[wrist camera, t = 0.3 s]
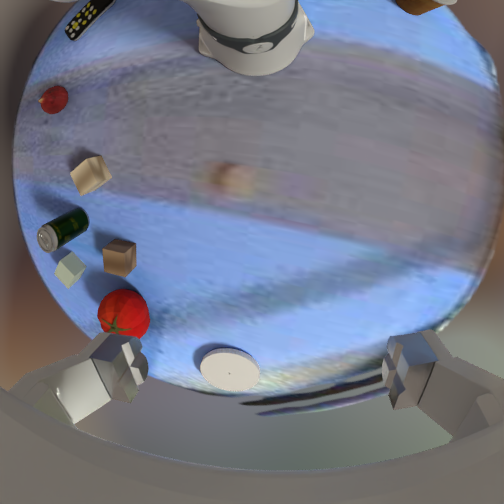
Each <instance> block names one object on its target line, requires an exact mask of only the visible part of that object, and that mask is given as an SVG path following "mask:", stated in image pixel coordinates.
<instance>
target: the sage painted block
mask: <svg viewBox="0 0 504 504" xmlns="http://www.w3.org/2000/svg"><path fill="white" fill-rule="evenodd" d="M85 268H86V265H85V264H84V263H83V262H82V261H81V260H80V259H79V258H78V257H77V256H76V255H75V254H74V253H73V251H72V252H71V253H70V254H68V255H67V256H65V257H64V258H63V259H61V260H60V261H59V264H58V266H57V268H56V271H55V273H54V274H55V275H56V276H57V277H58V279H59V280H60V281H61V282H62V283H63V284H64V285H65V286H66V287H67V288H68V289H69V288H70V287H71V286H72V285H73V284H74V283H76V282H77V281H78V280H79V279H80V277H81V276H82V274H83V272H84V270H85Z"/></svg>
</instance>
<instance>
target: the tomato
mask: <svg viewBox="0 0 504 504" xmlns="http://www.w3.org/2000/svg"><path fill="white" fill-rule="evenodd" d="M97 317H98V319H99V321H100V323H101V328H102V329H103V330H104V332H107V333H113V334H121V335H128V336H135V337H137V338H139V339H140V338H141V337H142V336H143V335H144V334H145V333H146V331H147V329H148V327H149V323H150V318H149V311H148V307H147V304H146V301H145V300H144V299H143V297H142V296H140V295H139V294H138V293H136V292H134V291H131V290H127V289H118V290H115V291H113V292H111V293H109V294H107V295H106V296H105V297H104V299H103V300H102V301H101V303H100V306H99V308H98V315H97Z"/></svg>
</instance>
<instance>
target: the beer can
mask: <svg viewBox="0 0 504 504" xmlns="http://www.w3.org/2000/svg"><path fill="white" fill-rule="evenodd" d="M88 226H89V216H88V214H87V212H86V211H85V210H83V209H80V208H76V209H74V210H72V211H70V212H67V213H65V214H63V215H61V216H59V217H57V218H56V219H54V220H52V221H50V222H48V223H46V224H44V225H42V227H41V228H39V230H38V232H37V241H38V244H39V246H40V247H41V249H42V250H43V251H45V252H47V253H50V252H53V251H55V250H57V249H58V248H60V247H61V246H63V245H65V244H66V243H68V242H69V241H71V240H72V239H74V238H75V237H77V236H79V235H80V234H82V233H83V232H85V231H86V230H87V228H88Z"/></svg>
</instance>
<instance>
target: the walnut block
mask: <svg viewBox="0 0 504 504" xmlns="http://www.w3.org/2000/svg"><path fill="white" fill-rule="evenodd" d="M102 250H103V262H104V272H107V273H111V274H115V275H119V276H123V277H126V276H127V275H128V274H129V273H130V272H131V271H132V270H133V269H134V268H135V267H136V243H132V242H127V241H122V240H117V239H115V240H113V241H112V242H110V243H109V244H108V245H106V246H105V247H104V248H102Z"/></svg>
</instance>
